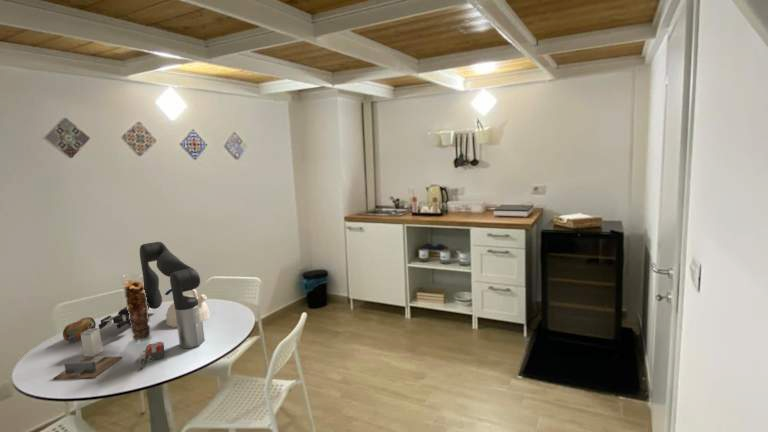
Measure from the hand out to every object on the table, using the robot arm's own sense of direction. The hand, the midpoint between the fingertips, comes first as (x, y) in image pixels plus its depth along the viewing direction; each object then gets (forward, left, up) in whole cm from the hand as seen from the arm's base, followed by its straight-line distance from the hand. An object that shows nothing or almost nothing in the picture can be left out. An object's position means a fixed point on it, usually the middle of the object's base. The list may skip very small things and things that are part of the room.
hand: (108, 326), depth 191 cm
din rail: (-8, +24, -7) cm, 26 cm away
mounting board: (-8, +24, -7) cm, 26 cm away
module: (0, +11, -7) cm, 13 cm away
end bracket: (-8, +29, -7) cm, 30 cm away
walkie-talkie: (-30, +17, -7) cm, 35 cm away
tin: (+18, -5, -7) cm, 20 cm away
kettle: (-24, -24, -7) cm, 35 cm away
